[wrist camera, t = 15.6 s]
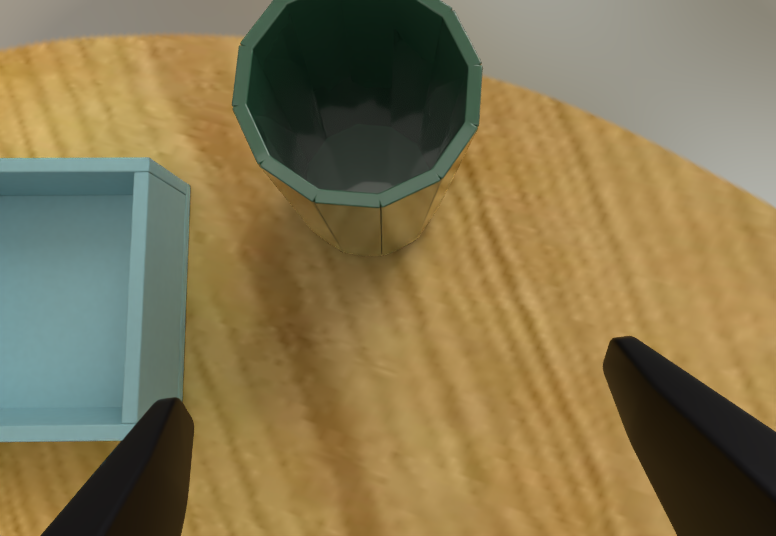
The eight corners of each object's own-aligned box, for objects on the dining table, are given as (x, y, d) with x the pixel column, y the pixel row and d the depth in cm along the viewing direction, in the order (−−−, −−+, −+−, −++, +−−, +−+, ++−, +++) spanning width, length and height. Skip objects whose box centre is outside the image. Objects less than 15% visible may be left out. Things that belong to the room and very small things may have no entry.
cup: (335, 279, 22) (295, 247, 12) (278, 156, 23) (194, 28, 13) (461, 220, 22) (524, 141, 12) (401, 100, 23) (415, -66, 13)
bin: (182, 417, 21) (135, 441, 17) (-59, 420, 21) (-162, 444, 17) (191, 185, 22) (149, 157, 18) (-37, 186, 22) (-130, 158, 18)
